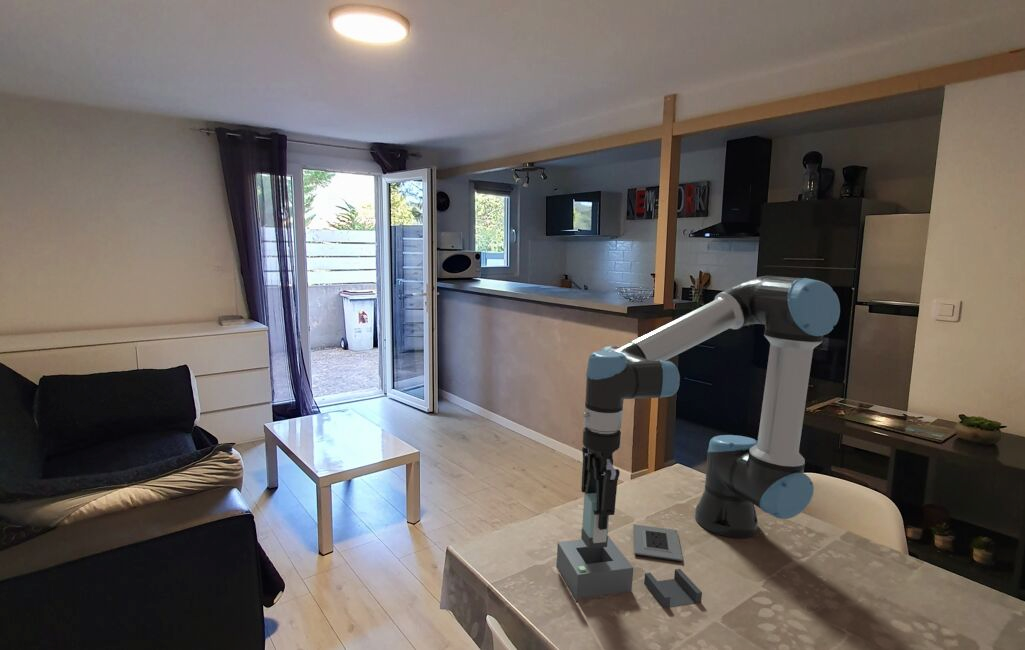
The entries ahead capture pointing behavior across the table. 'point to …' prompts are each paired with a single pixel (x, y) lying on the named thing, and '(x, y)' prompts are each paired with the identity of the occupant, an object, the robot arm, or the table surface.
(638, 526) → the electrical outlet
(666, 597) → the grey u-channel bracket
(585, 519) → the plug
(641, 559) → the table surface
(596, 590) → the port block
